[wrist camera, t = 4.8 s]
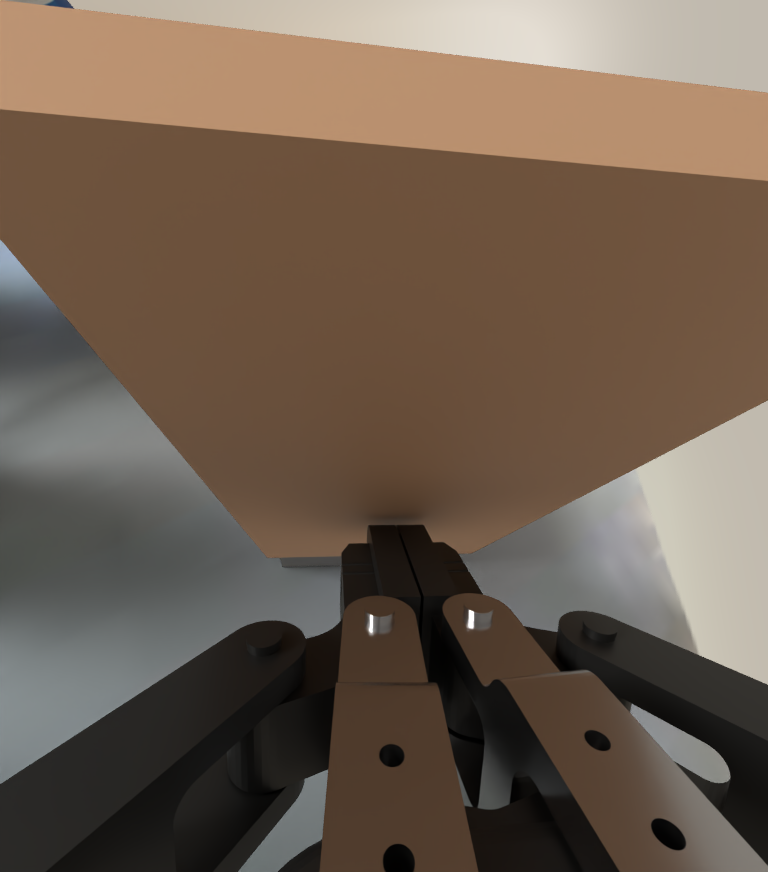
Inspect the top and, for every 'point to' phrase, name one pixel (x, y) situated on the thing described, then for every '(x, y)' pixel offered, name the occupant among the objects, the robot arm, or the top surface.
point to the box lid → (387, 264)
